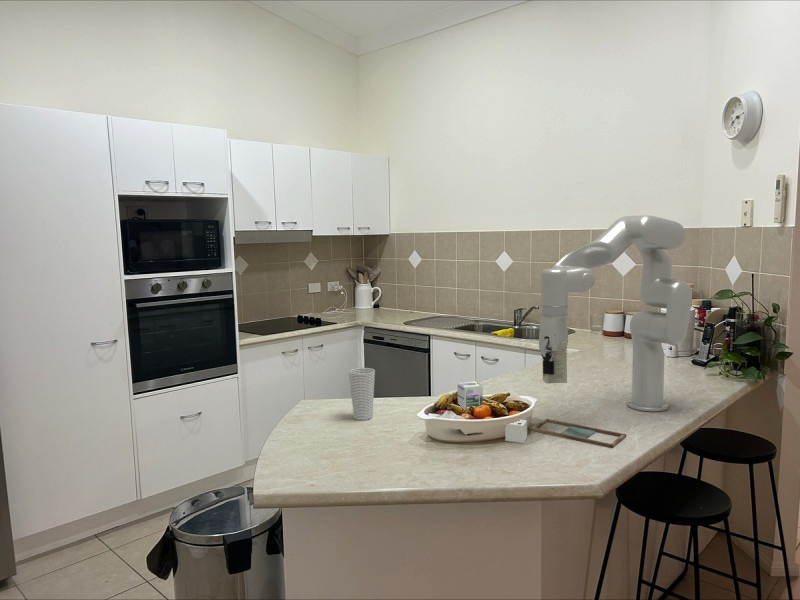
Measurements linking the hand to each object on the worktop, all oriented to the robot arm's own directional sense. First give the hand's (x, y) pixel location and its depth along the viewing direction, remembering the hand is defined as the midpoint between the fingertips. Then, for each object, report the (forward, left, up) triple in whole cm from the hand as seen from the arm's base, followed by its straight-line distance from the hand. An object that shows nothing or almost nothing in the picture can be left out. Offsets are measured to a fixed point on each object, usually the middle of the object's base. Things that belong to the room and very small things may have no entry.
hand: (554, 370), depth 170 cm
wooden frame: (0, +7, -17) cm, 19 cm away
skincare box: (0, 0, -3) cm, 3 cm away
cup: (+25, -54, -18) cm, 62 cm away
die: (+14, -5, -17) cm, 23 cm away
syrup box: (+16, -19, -18) cm, 31 cm away
